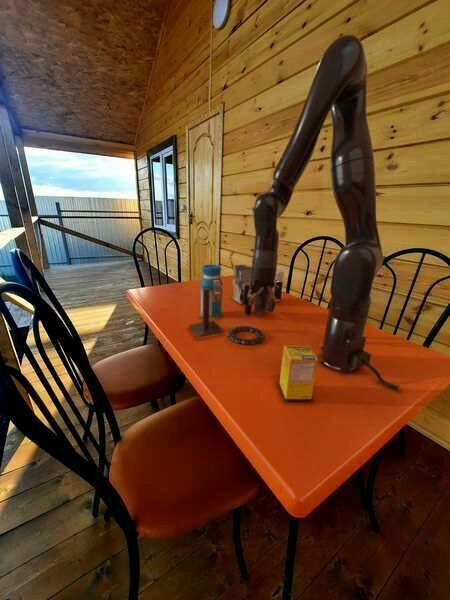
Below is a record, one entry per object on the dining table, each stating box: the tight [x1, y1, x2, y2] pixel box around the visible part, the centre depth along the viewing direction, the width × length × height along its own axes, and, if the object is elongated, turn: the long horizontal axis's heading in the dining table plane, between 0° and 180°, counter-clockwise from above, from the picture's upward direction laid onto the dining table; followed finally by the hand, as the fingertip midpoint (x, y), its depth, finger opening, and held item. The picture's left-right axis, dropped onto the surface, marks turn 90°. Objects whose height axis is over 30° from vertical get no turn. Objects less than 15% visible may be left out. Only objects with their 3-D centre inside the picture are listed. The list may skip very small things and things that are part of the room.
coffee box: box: [231, 264, 252, 305], centre depth 117 cm, size 9×6×16 cm
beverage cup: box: [253, 296, 269, 314], centre depth 101 cm, size 7×7×20 cm
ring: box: [227, 325, 265, 346], centre depth 82 cm, size 12×12×2 cm
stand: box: [188, 288, 224, 338], centre depth 84 cm, size 9×9×16 cm
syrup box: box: [268, 268, 285, 303], centre depth 119 cm, size 6×6×14 cm
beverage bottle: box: [199, 264, 223, 319], centre depth 97 cm, size 8×8×20 cm
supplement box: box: [278, 345, 319, 402], centre depth 57 cm, size 6×6×11 cm
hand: (259, 313), depth 82 cm, fingers open, 8 cm apart
